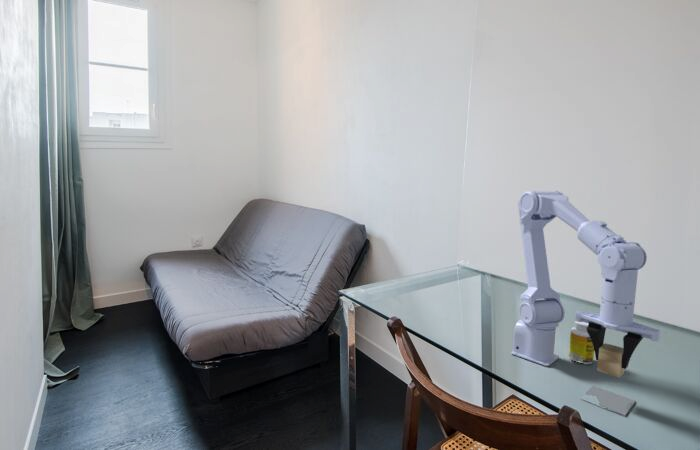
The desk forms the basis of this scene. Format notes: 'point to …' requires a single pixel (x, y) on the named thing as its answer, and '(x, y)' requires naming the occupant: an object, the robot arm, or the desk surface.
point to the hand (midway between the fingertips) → (611, 362)
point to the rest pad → (611, 400)
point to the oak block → (610, 360)
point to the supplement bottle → (581, 344)
